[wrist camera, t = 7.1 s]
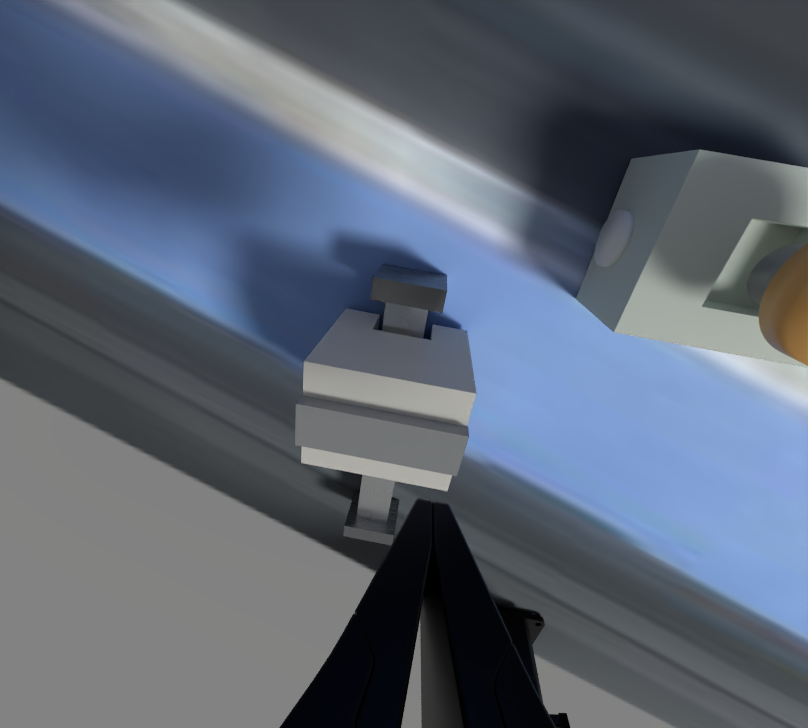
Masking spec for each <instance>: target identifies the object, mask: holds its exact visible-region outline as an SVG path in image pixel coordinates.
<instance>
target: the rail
mask: <svg viewBox="0 0 808 728" xmlns="http://www.w3.org/2000/svg"><path fill="white" fill-rule="evenodd" d="M446 294H447V275H442V274H436V273H431V272H425V271H420V270H414V269H409V268H403V267H398V266H392V265H387V264H383V265H382V266H381V267H380V269H379V270H378V271H377V272H376V274H375V275H374V276H373V280H372V289H371V298H370V300H375V301H380V302H386V304H385V311H384V319H383V326H382V331H384V332H390V333H395V334H400V335H406V336H411V337H417V338H422V339H423V335H424V330H425V325H426V320H427V315H428V310H429V311H435V312H440V313H442V312H443V307H444V303H445V298H446ZM394 483H395V481H392V480H387V479H382V478H377V477H372V476H367V475H362V481H361V488H360V493H359V492H354V495H353V499H352V502H351V505H350V509H349V512H348V516H347V519H346V522H345V526H344V535H343V536H346V537H351V538H356V539H361V540H366V541H371V542H376V543H381V544H386V545H392V543H393V538H394V532H395V525H396V518H397V512H398V505H399V500H394V499H391V498H392V493H393V488H394Z"/></svg>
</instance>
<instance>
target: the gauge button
mask: <svg viewBox="0 0 808 728" xmlns="http://www.w3.org/2000/svg"><path fill="white" fill-rule="evenodd" d="M747 292H748V295H749V297H750V298H751V299H752V300H753V301H754V302H756V303H758V304H760V308H759V326H760V330H761V332H762V334H763V337H764V338H765V340H766V341H767V342H768V343H769V344H770V345H771V346H772V347H773V348H774V349H776V350H778V351H779V352H781V353H783V354H785V355H787V356H789V357H791V358H793V359H795V360H797V361H799V362H801V363H803V364H805V365H807V366H808V243H807V244H790V245H786V246H783V247H780V248H778V249H776V250H774V251H772V252H770V253H769V254H767V255H766V256H765V257H763V258H762V259H761V260H760V261H759V262H758V263H757V264H756V265H755V267H754V268H753V270H752V271H751V273H750V275H749V277H748V281H747Z"/></svg>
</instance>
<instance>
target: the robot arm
mask: <svg viewBox="0 0 808 728" xmlns="http://www.w3.org/2000/svg"><path fill="white" fill-rule="evenodd" d="M419 620H420V623H421V700H422V701H421V703H422V704H421V705H422V728H570V725H569V721H568V717H567V714H566V713H559V714H558V715H553V714H550V715H549V714H548V712H547V710H546V708H545V706H544V705H543V700H542V694H541V689H540V684H539V679H538V673H537V668H536V663H535V657H534V652H533V646H532V644H533V643H534V641H535V640H536V638H537V636H538V635H539V633H540V632H541V630H542V629H543V627H544V625H545V624H544V619H543V617H541V616H537V615H533V614H528V613H523V612H518V611H513V610H508V609H503V608H498V607H496V605H495V603H494V600H493V598H492V596H491V594H490V592H489V590H488V588H487V585H486V583H485V581H484V579H483V577H482V575H481V572H480V570H479V568H478V566H477V564H476V562H475V559H474V557H473V555H472V553H471V551H470V549H469V547H468V544H467V542H466V540H465V538H464V536H463V534H462V531H461V529H460V527H459V525H458V523H457V521H456V519H455V516H454V514H453V512H452V510H451V508H450V506H449V504H447V503H444V502H438V501H434V502H433V503H432V501H431V500H428V499H422V498H417V499H416V501H415V502H414V504H413V506H412V508H411V510H410V512H409V513H408V515H407V517H406V519H405V521H404V523H403V524H402V526H401V528H400V530H399V532H398V534H397V535H396V537H395V539H394V541H393V543H392V545H391V546H390V548H389V550H388V552H387V554H386V556H385V557H384V559H383V561H382V563H381V565H380V567H379V568H378V570H377V572H376V574H375V576H374V577H373V579H372V581H371V583H370V585H369V587H368V589H367V590H366V592H365V594H364V596H363V598H362V599H361V601H360V603H359V605H358V607H357V609H356V610H355V614H353V615H352V617H351V619H350V621H349V623H348V625H347V626H346V628H345V630H344V632H343V633H342V635H341V637H340V639H339V640H338V642H337V644H336V645H335V647H334V649H333V651H332V652H331V654H330V656H329V657H328V658H327V660H326V662H325V663H324V664H323V666H322V668H321V669H320V671H319V672H318V674H317V675H316V677H315V678H314V680H313V681H312V683H311V684H310V686H309V687H308V688H307V690H306V691H305V692H304V694H303V695H302V697H301V698H300V699H299V701H298V702H297V704H296V705H295V707H294V708H293V709H292V711H291V712H290V714H289V715H288V716H287V718H286V719H285V721H284V722H283V724H282V725H281V726H280V728H401V724H402V718H403V712H404V707H405V701H406V695H407V689H408V684H409V678H410V672H411V666H412V661H413V655H414V649H415V643H416V638H417V632H418V626H419Z"/></svg>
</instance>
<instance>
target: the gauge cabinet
mask: <svg viewBox="0 0 808 728" xmlns="http://www.w3.org/2000/svg"><path fill="white" fill-rule="evenodd" d="M807 243H808V168H806V167H800V166H794V165H788V164H782V163H776V162H771V161H765V160H759V159H753V158H747V157H741V156H736V155H730V154H724V153H718V152H712V151H706V150H700V149H699V150H691V151H684V152H677V153H669V154H662V155H655V156H647V157H640V158H633V159H631V160H630V163H629V166H628V168H627V171H626V173H625V176H624V178H623V181H622V183H621V186H620V188H619V191H618V193H617V196H616V198H615V201H614V203H613V206H612V208H611V211H610V214H609V216H608V219H607V220H606V222H605V223H604V225H603V227H602V229H601V231H600V233H599V236H598V238H597V242H596V245H595V251H594V254H593V256H592V259H591V262H590V264H589V267H588V269H587V272H586V274H585V277H584V279H583V282H582V284H581V287H580V289H579V292H578V294H577V297H576V299H577V300H578V301H579V302H580V303H581V304H582V305H583V306H584V307H586V308H587V309H588V310H589V311H590V312H591V313H592V314H594V315H595V316H596V317H597V318H598V319H599V320H600V321H602V322H603V323H604V324H605V325H606V326H607V327H608V328H609V329H611V330H612V331H613V332H615V333H620V334H626V335H631V336H637V337H642V338H648V339H653V340H659V341H664V342H669V343H675V344H680V345H686V346H691V347H697V348H702V349H708V350H713V351H719V352H724V353H730V354H735V355H740V356H746V357H751V358H757V359H762V360H768V361H773V362H779V363H784V364H790V365H795V366H801V367H806V368H808V366H807V365H805V364H803V363H801V362H799V361H797V360H795V359H793V358H791V357H789V356H787V355H785V354H783V353H781V352H779V351H778V350H776V349H774V348H773V347H772V346H771V345H770V344H769V343H768V342H767V341H766V340H765V338H764V337H763V334H762V332H761V330H760V326H759V308H760V304H758V303H756V302H754V301H753V300H752V299H751V298H750V297H749V295H748V292H747V281H748V277H749V275H750V273H751V271H752V270H753V268H754V267H755V265H756V264H757V263H758V262H759V261H760V260H761V259H762V258H763V257H765V256H766V255H767V254H769V253H770V252H772V251H774V250H776V249H778V248H780V247H783V246H786V245H790V244H807Z"/></svg>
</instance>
